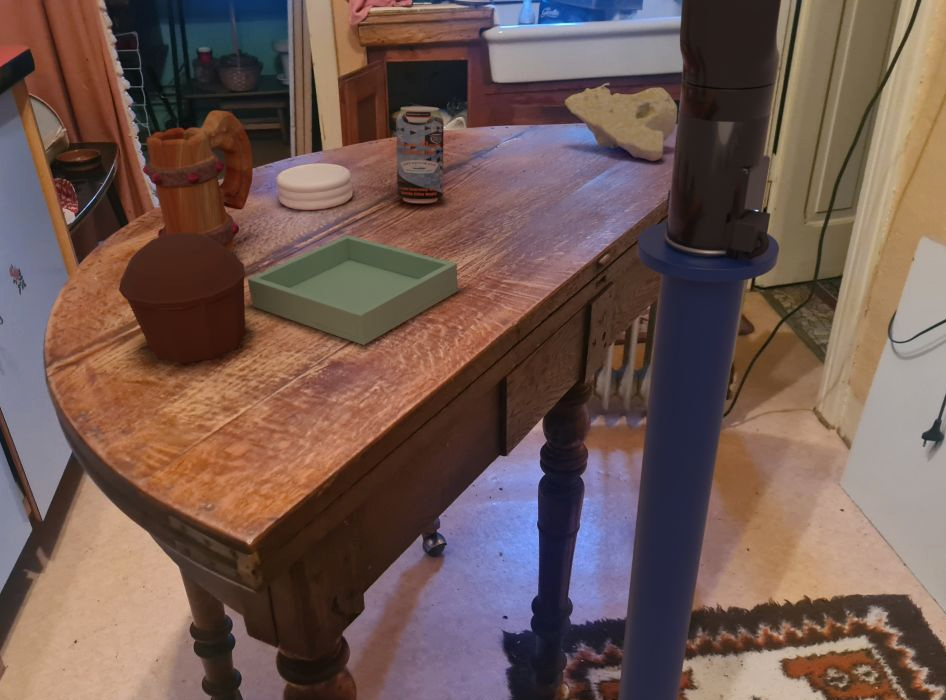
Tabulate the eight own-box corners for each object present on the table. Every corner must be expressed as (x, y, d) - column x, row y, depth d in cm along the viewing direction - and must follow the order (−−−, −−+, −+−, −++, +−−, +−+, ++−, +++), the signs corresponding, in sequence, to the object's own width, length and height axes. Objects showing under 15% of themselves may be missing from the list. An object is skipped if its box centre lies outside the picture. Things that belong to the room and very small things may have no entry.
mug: (201, 280, 94) (170, 140, 86) (148, 268, 98) (113, 132, 89) (286, 236, 105) (265, 108, 96) (236, 227, 108) (212, 102, 100)
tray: (458, 291, 90) (456, 263, 88) (363, 345, 80) (360, 315, 79) (350, 260, 98) (346, 234, 96) (252, 306, 88) (247, 278, 86)
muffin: (260, 360, 78) (240, 256, 73) (134, 378, 76) (103, 273, 71) (253, 307, 88) (235, 212, 82) (141, 322, 86) (114, 226, 80)
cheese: (692, 167, 129) (662, 86, 133) (692, 141, 122) (661, 55, 126) (594, 202, 132) (568, 120, 136) (589, 177, 125) (562, 93, 129)
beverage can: (393, 209, 112) (385, 113, 105) (406, 191, 118) (399, 99, 111) (439, 210, 111) (434, 114, 104) (451, 192, 117) (447, 100, 110)
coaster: (269, 195, 118) (265, 170, 116) (337, 183, 122) (333, 158, 120) (294, 216, 111) (290, 189, 109) (364, 202, 115) (362, 175, 113)
